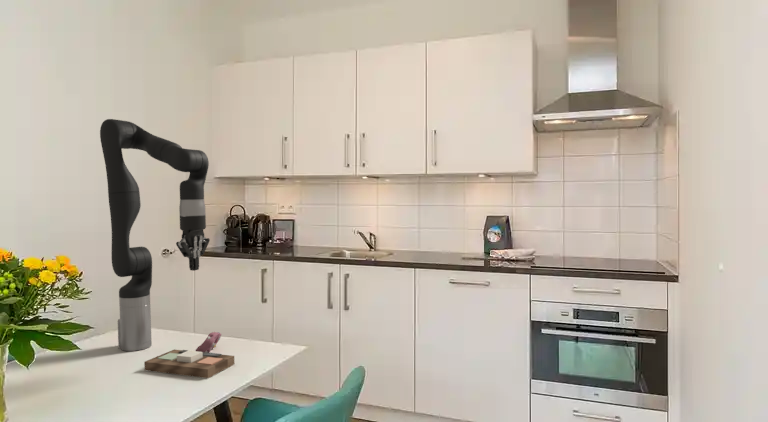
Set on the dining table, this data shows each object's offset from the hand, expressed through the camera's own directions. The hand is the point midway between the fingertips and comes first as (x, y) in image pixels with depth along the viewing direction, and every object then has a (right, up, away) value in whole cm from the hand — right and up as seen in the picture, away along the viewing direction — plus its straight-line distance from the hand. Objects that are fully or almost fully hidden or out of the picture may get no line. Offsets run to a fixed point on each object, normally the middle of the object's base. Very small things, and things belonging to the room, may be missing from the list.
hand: (194, 270), depth 159 cm
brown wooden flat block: (+2, -27, -9) cm, 29 cm away
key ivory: (+2, -26, -9) cm, 27 cm away
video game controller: (+2, -27, +7) cm, 28 cm away
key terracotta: (+9, -27, -11) cm, 31 cm away
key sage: (-4, -27, -7) cm, 28 cm away
